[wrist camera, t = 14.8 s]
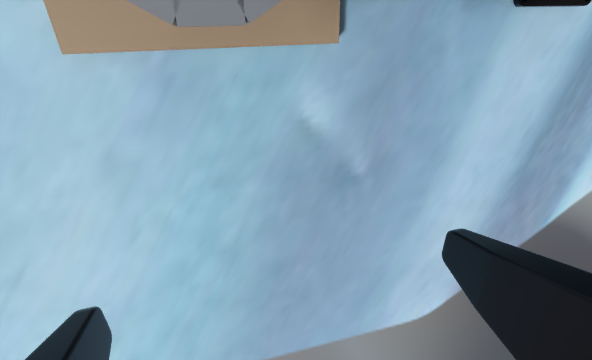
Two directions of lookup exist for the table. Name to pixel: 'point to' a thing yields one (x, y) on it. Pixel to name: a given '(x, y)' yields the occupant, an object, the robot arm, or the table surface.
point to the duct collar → (190, 24)
